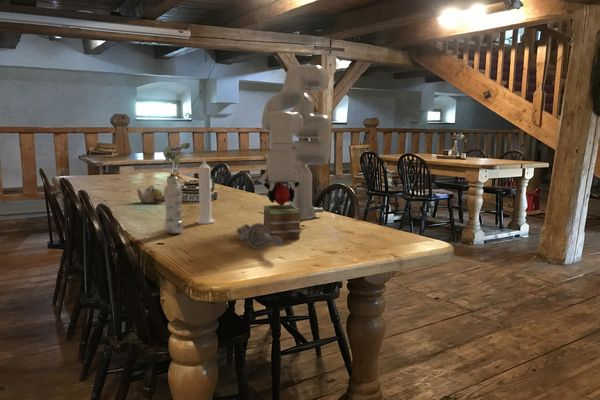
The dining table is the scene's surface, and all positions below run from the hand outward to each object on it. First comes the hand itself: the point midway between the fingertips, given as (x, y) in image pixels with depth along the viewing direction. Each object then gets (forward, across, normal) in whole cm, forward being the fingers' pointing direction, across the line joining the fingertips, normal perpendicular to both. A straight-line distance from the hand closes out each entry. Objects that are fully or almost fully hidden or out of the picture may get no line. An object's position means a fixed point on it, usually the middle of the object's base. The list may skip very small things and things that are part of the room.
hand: (281, 201), depth 170 cm
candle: (+13, +22, -32) cm, 41 cm away
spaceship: (+13, +11, +14) cm, 22 cm away
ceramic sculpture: (+13, +41, -88) cm, 98 cm away
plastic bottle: (+13, +35, -15) cm, 40 cm away
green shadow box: (+12, 0, 0) cm, 12 cm away
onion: (+2, 0, 0) cm, 2 cm away
